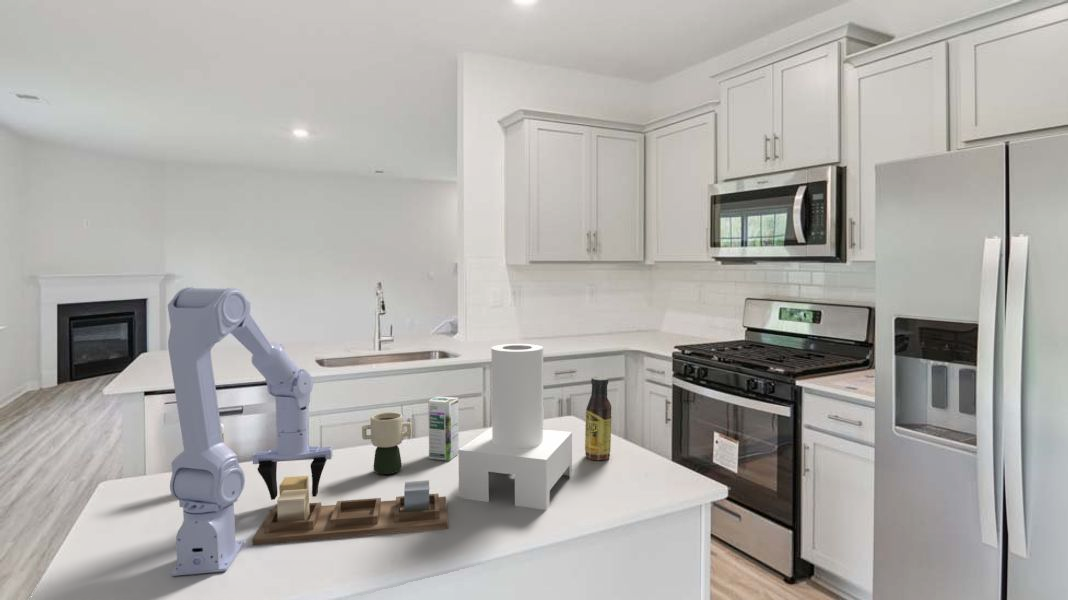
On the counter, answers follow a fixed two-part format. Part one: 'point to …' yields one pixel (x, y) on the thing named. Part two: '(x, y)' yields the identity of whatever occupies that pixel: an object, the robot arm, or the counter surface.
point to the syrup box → (443, 428)
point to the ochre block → (294, 483)
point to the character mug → (387, 440)
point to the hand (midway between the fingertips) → (294, 496)
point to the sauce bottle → (598, 421)
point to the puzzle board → (352, 516)
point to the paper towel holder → (516, 433)
